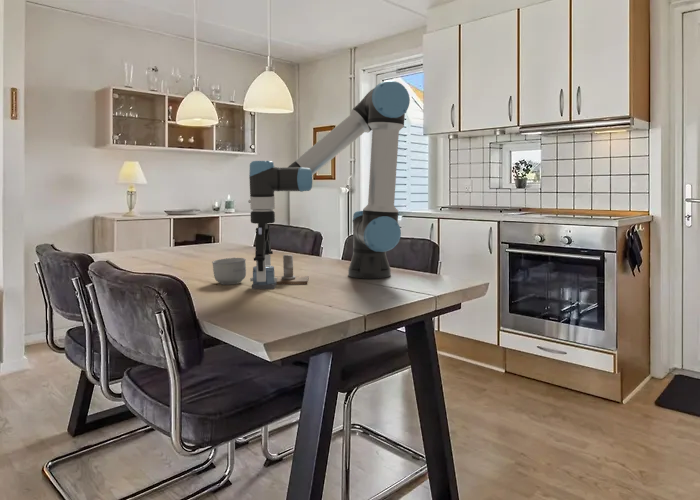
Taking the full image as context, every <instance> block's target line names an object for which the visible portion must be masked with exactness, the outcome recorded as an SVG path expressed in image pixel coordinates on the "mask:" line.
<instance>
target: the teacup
mask: <svg viewBox="0 0 700 500" xmlns="http://www.w3.org/2000/svg"><path fill="white" fill-rule="evenodd" d="M211 264H212V270H213V278H214V279H215V281H216V282H217V283H219V284H220V285H222V286H223V285H224V286H226V285H227V286H230V285H236V284H240V283H242V281H243V280H244V279H245V278H246V275H247V267H246V266H247V265H246V258H244V257H229V258H228V257H227V258H221V259H216V260H213V261H212V262H211Z"/></svg>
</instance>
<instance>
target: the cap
mask: <svg viewBox="0 0 700 500" xmlns="http://www.w3.org/2000/svg"><path fill="white" fill-rule="evenodd" d="M275 274H276V273H275V266H274V265H266V282H257V270H256V265H255V266H253V267H252V277H250V279H249V280H250V282H252V284H255V285H270V284H274V283H275V281H277V277H276V276H275Z"/></svg>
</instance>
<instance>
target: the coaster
mask: <svg viewBox="0 0 700 500" xmlns="http://www.w3.org/2000/svg"><path fill="white" fill-rule="evenodd" d="M276 286H278V285H277V284H276V281H275V283H274V284H270V285H255V284H253V283H252V284H251V289H252V290H274V289H275V288H276Z"/></svg>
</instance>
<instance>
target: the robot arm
mask: <svg viewBox="0 0 700 500" xmlns="http://www.w3.org/2000/svg"><path fill="white" fill-rule="evenodd" d="M410 98H411V97H410V94H409V91H408V89H407V88H406V87H405V86H404V85H403V84H402V83H401V82H399V81H397V80H396V81H395V80H386V81H382V82H379V83H378V84H377V85H375V87H373V88H372V89H370V90H369V91H368V92H367V93H366V95H365V96H363V98H362V99H361V101H359V103H357V105H356V106H354V107H353V108H352V109H351V110H350V114H349V115H348V116H347V117H346V118H345V119H343V120H342V121H341V122H340V123H339V124H338V125H336V126H335V127H333V129H332V130H330V131H329V132H328V133H327V134H326V135H324V136H323V137H322V138H321V139H319V140H318V141H317V142H316V143H315V144H313V146H311V147H310V148H309V149H307V151H305V152H303V154H301V155H300V156H299V157H298V158H297V159H295V161H294V162H292V163H291V164H289V165H288V166H287V167H278V166H277V167H276V166H275V165H274V161H272V160H252V161H251V162H250V163H249V174H248V175H249V178H248V179H249V197H250V199H249V200H248V203H249V204H250V210H251V212H250V223H251V224H257V227H256V228H255V256H254V257H253V261H254V262H256V263H255V264H256V265H255V266H256V270H257V282H266V265H271V262H272V260H271V259H272V258H271V256H272V255H273V254H274V253H273V250H272V248H271V247H272V245H271V236H270V235H271V234H270V233H271V229H270V227H271V226H270V224H274V223H275V221H276V219H275V217H276V215H275V213H276V212H275V211H274V210H275V208H276V207H275V204H276V203H275V202H276V201H275V199H276V198H275V192H302V193H303V192H310V191H311V190H312V189H313V176H314V175H315V174H317V172H319V171H320V170H321V169H323V167H324V166H326V165H327V164H328V163H329V162H330V161H331V160H333V159H335V157H337V155H339V154H340V153H341V152H342V151H344V150H345V149H346V148H347V147H349V146H350V145H352V143H353V142H355V141H356V140H357V139H358V138H359V137H360V136H362V135H363V134H364V133H367V134H368V133H370V132H371V131H372V132H371V133H372V134H371V148H370V165H369V167H370V168H369V182H368V184H369V185H368V197H367V198H368V199H367V201H368V202H367V205H366V206H365V207H363V208H362V210H358V211H357V210H356V211H355V212H354V213H353V215H352V240H353V241H352V242H353V243H352V246H353V247H352V248H353V249H352V256H351V261H350V262H349V266H348V270H347V271H348V272H347V273H348V276H349V277H350V278H355V279H356V278H357V279H368V280H369V279H371V280H372V279H374V280H375V279H383V278H384V279H385V278H388V277H391V266H390V263H389V261H388V256H387V252H389V251H391V250H393V249H394V248H395V247H396V246H397V245H398V244H399V242H400V239H401V237H402V230H401V226H400V223H398V222H399V210H398V208H396V207H395V199H396V197H395V196H396V183H397V180H396V179H397V168H398V167H397V165H398V151H399V135H400V134H399V133H400V131H401V130H402V129H403V128H404V127H405V117H406V115H405V114H406V113H407V111H408V109H409V107H410V101H411V100H410ZM271 266H272V265H271Z"/></svg>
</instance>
